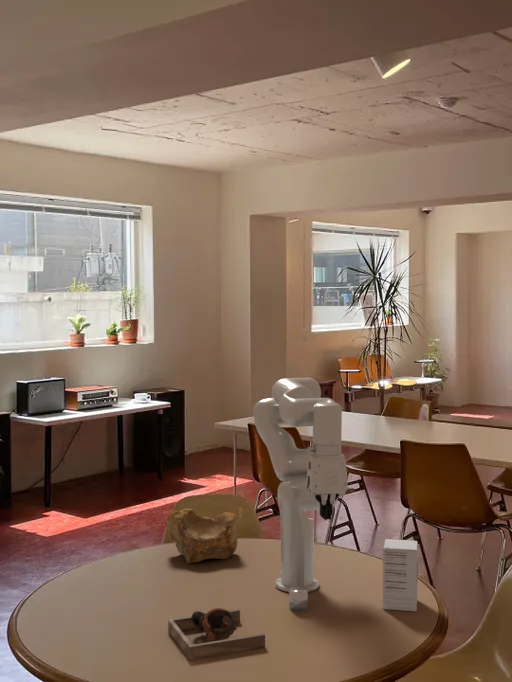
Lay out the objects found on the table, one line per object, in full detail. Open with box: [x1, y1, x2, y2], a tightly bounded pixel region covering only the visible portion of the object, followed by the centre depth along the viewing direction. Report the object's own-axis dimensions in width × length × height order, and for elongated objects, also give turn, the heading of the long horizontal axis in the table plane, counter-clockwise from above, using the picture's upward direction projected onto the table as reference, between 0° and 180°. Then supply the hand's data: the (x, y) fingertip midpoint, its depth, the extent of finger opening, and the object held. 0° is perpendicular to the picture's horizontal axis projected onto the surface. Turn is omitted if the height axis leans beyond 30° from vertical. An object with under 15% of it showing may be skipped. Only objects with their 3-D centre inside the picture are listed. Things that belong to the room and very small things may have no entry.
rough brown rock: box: [166, 507, 238, 565], centre depth 270 cm, size 23×17×15 cm
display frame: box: [167, 608, 266, 661], centre depth 207 cm, size 18×19×3 cm
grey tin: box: [288, 587, 309, 613], centre depth 228 cm, size 5×5×5 cm
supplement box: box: [382, 538, 419, 612], centre depth 230 cm, size 10×9×17 cm
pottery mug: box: [191, 607, 238, 643], centre depth 208 cm, size 12×10×8 cm
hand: (326, 518), depth 222 cm, fingers closed
